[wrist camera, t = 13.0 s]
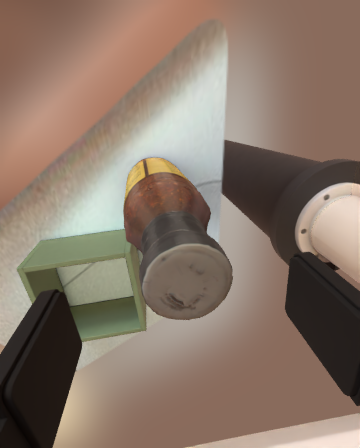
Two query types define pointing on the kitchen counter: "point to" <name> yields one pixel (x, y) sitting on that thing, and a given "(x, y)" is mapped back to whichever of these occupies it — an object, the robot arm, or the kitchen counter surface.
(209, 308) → the sauce bottle
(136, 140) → the kitchen counter surface
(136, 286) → the caddy
